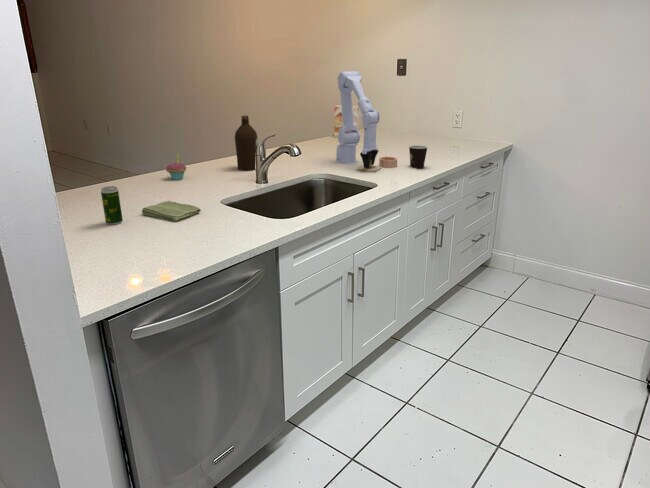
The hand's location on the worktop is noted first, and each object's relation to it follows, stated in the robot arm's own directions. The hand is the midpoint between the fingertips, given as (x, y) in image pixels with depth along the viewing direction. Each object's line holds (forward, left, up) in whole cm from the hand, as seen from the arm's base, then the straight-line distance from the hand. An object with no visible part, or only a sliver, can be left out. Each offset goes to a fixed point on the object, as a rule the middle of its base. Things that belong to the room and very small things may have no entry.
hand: (368, 166), depth 243 cm
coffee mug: (+19, +17, -2) cm, 26 cm away
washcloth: (-40, -93, -2) cm, 101 cm away
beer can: (-51, -109, -2) cm, 120 cm away
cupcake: (-72, -52, -2) cm, 89 cm away
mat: (0, 0, -2) cm, 2 cm away
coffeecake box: (-46, +83, -2) cm, 95 cm away
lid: (0, 0, -1) cm, 1 cm away
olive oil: (-54, -22, -2) cm, 58 cm away
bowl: (+6, +11, -2) cm, 13 cm away
